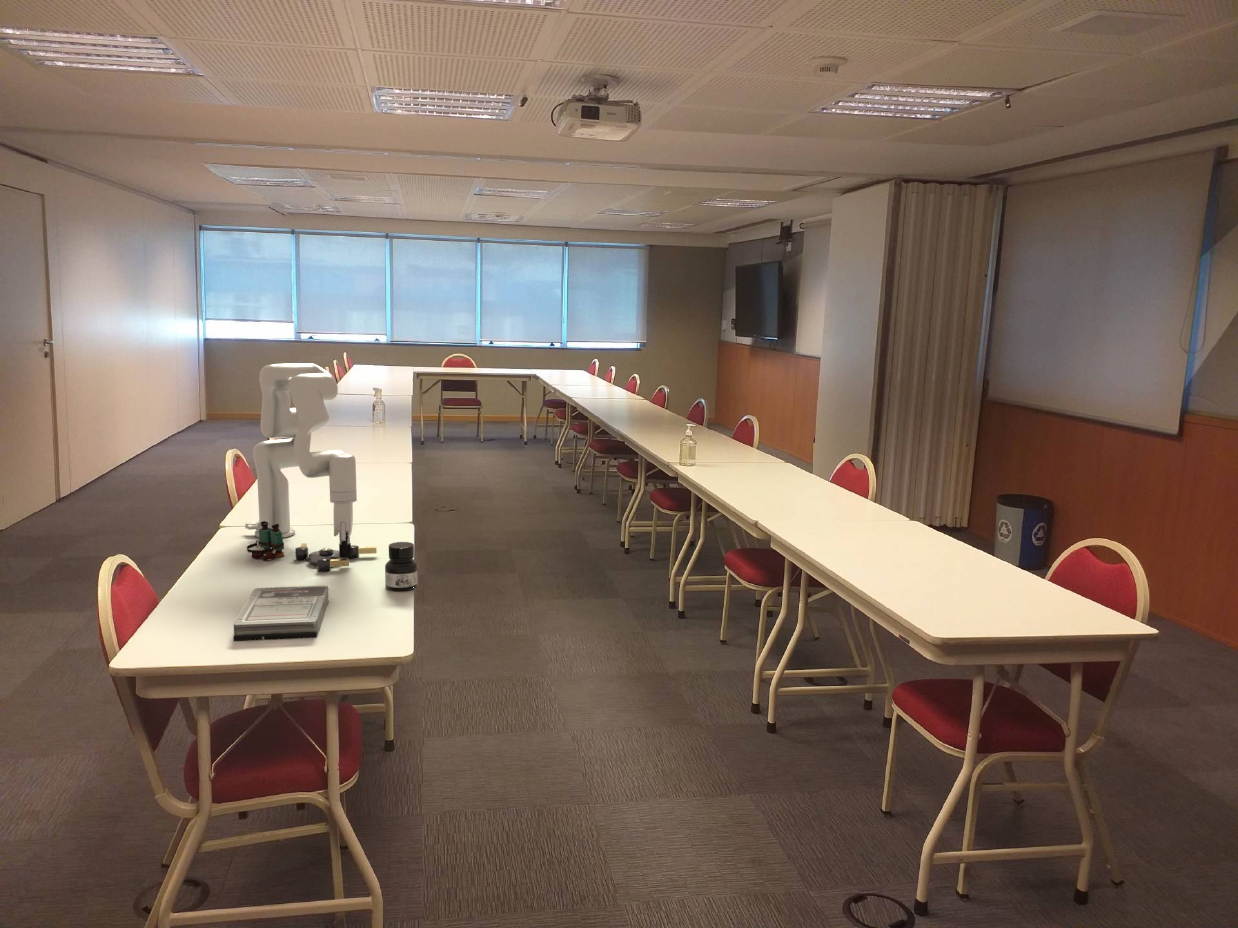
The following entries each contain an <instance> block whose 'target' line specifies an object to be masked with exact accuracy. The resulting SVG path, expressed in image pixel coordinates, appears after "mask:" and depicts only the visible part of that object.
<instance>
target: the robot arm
mask: <svg viewBox="0 0 1238 928" xmlns="http://www.w3.org/2000/svg"><path fill="white" fill-rule="evenodd" d="M259 385H260V390H261V394H262V396H261V397H262V401H261V412H260V413H261V414H260V431H261V434H262V435H263V436H264V437H265V438H268V439H269V440H264V441H260V442H258V443H257V444H256V445H255V446H254V447H253V450H252V456H253V461H254V466H255V471H256V480H257V501H258V521H255V522H245V525H244V527H245V529H247V530H250V531H251V530H255V531H254V536H255V537H256V538H259V529H261V528H262V526H261V522H262V521H266V522H268V528H272V525H275V524H279V527H278V528H279V530H281V532H282V538H288V537H292V536H294V535H295V534H296V529H295V528H294V527H291V523H290V522H291V520H290V517H291V516H290V515H291V514H290V491H289V490H290V489H289V485H290V484H289V480H288V478H287V477H286V475H285V474H284V473H283V472H282V470H281V469H286V468H296V467H299V470H300V472H301V474H302V475H303V476H305V477H307V478H308V479H309V478H310V479H314V478H315V479H317V478H322V477H323V478H324V477H328V478H329V481H328V482H329V483H328V484H329V502H330V503H332V504H333V536H334V537H337V536H338V537H339V543H338V546H339V547H338V551H339V556H340V558H346V557H351V544H352V543H351V535H352V532H353V525H354V522H353V521H354V504H353V503H356V502H357V499H358V496H357V494H358V493H357V467H356V466H357V463H356V461H357V460H356V457H355V456H354V455H353V454H350V453H346V452H345V451H343V450H341V449H332V450H321V451H312V452H311V450H310V449H311V440H312V433H313V432H315V431H318V430H319V429H321V428H323V427H325V425H327V423H328V422H329V419H330V415H329V412H328V411H327V407H326V404H325V402H324V401H331V400H334V399H336V397H337V395H338V393H339V392H338V390H339V388H338V383H337V381H336V379H335V377H334V376H333V375H332V373H330V372H328V371H327V370H325V369H324V368H322V367H321V366H319V365H317V364H315V363H304V362H303V363H302V362H301V363H274V364H267V365H264V366H263V367H262V368H261V370H260V372H259ZM291 400H292V403H293V406H294V407H291ZM283 438H284V439H283ZM272 529H273V528H272Z"/></svg>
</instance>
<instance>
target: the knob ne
mask: <svg viewBox="0 0 1238 928" xmlns="http://www.w3.org/2000/svg"><path fill="white" fill-rule="evenodd" d="M369 554H370V555H371V554H372V555H373V554H377V546H359V545H356V544H355V545H351V557H348V559H349V560H356V559H359V558H360V555H369Z"/></svg>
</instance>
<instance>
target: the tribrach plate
mask: <svg viewBox="0 0 1238 928" xmlns="http://www.w3.org/2000/svg"><path fill="white" fill-rule="evenodd" d="M319 558H330V560H332V559H348V557H346V558H340V556H339V549H338V550H337V549H333V548H330V547H323V548H321V549H319V550H317V551H313V552H310V553H308V557H306V560H305V561H306V562H308V564H309V565H310V566H311V567H317V568H318V566H317V559H319Z"/></svg>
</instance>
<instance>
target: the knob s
mask: <svg viewBox="0 0 1238 928" xmlns="http://www.w3.org/2000/svg"><path fill="white" fill-rule="evenodd" d="M317 566H318V567H317V572H319V573H328V572H330V571H331V569H332V567H333V568H337V567H349V566H350V559H332V560H330V558H319V559H317Z"/></svg>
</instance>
